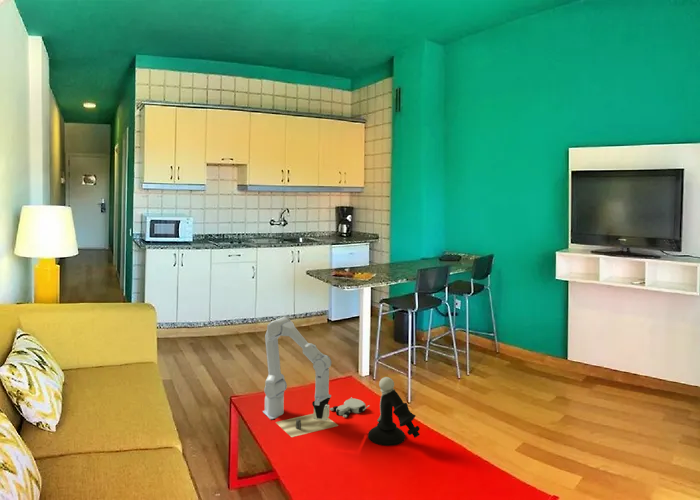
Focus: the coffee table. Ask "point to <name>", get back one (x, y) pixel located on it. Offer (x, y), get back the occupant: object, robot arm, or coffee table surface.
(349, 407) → the robot toy
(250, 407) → the coffee table surface
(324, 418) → the slotted white block
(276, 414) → the robot arm
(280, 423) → the board
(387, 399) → the sculpture
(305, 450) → the coffee table surface
